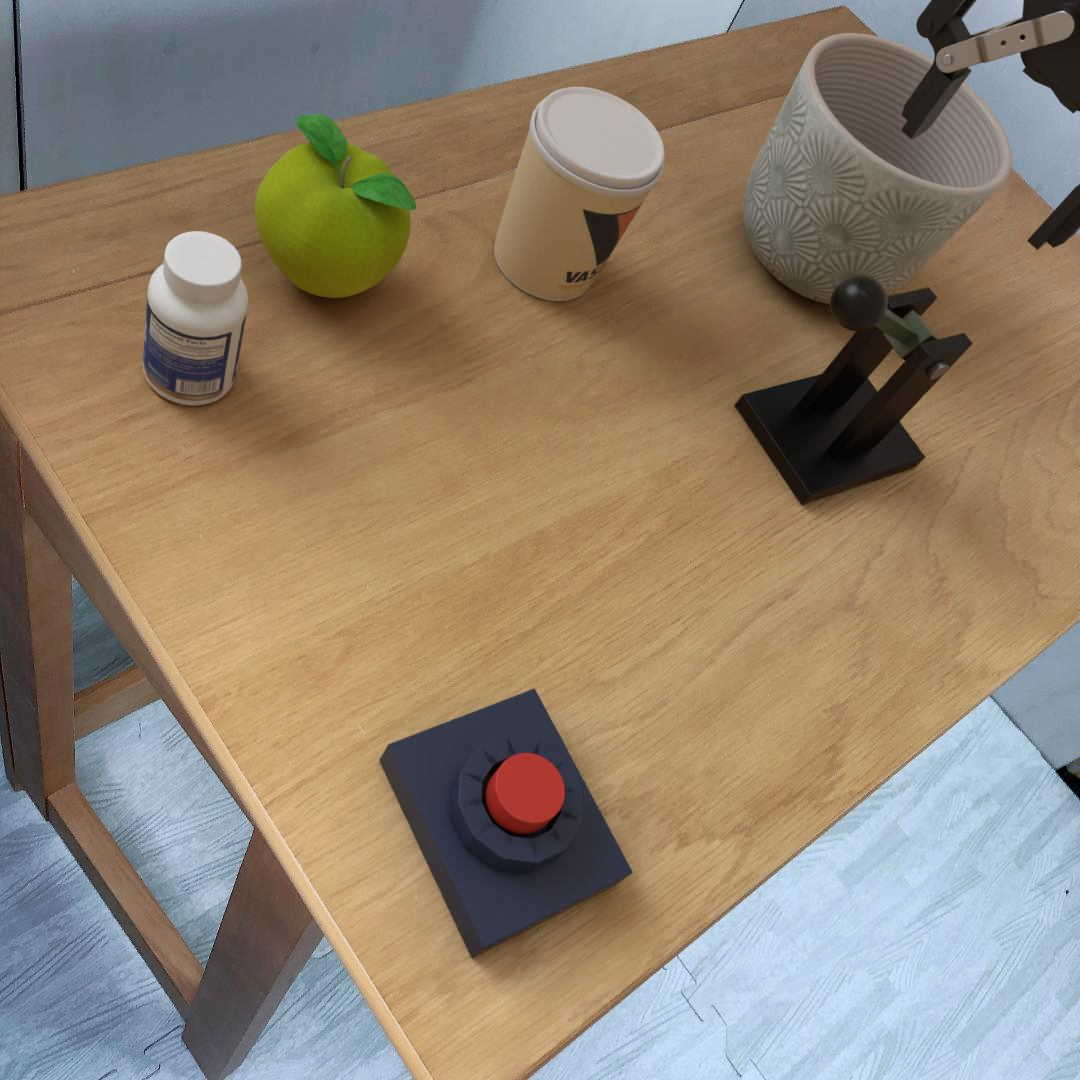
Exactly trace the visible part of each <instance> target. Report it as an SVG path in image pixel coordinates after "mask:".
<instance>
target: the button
mask: <svg viewBox="0 0 1080 1080" xmlns="http://www.w3.org/2000/svg"><path fill="white" fill-rule="evenodd" d="M564 798H565V787H564V783H563V779H562V777H561V775H560V773H559V771H558V770H557V769H556V767H555V766H554V765H553V764H552V763H551V762H549V761H548V760H547V759H545V758H543V757H541V756H539V755H536V754H532V753H520V754H516V755H513V756H511V757H509V758H508V759H507V760H505V761H504V762H503V763H502V765H501V766H500V767H499V768H498V770H497V771H496V772H495V773H494V775H493V776H492V777H491V779H490V780H489V782H488V785H487V788H486V803H487V807H488V810H489V812H490V814H491V816H492V817H493V819H494V820H495V821H496V822H497V823H498V824H499V825H500V826H501V827H503V828H504V829H506V830H508V831H510V832H513V833H517V834H530V833H534V832H537V831H539V830H540V829H542V828H543V827H544V826H545V825H546V824H547V823H548V822H549V821H550V820H551V819H552V818H553V817H554V816H555V815H556V814H557V813H558V812H559V811H560V809H561V807H562V805H563V802H564Z"/></svg>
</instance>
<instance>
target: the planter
mask: <svg viewBox="0 0 1080 1080" xmlns="http://www.w3.org/2000/svg"><path fill="white" fill-rule="evenodd" d="M933 62H934V58H933V59H932V57H929V56H928V55H926V54H924V53H922V52H921V51H918V50H916V49H914V48H912V47H910V46H907V45H905V44H902V43H900V42H898V41H895V40H891V39H888V38H886V37H882V36H877V35H873V34H868V33H867V34H866V33H857V32H846V33H845V32H844V33H837V34H833V35H830V36H826V37H824V38H822V39H821V40H819V41H818V42H816V43H815V44H814V45H813V46H812V48H811V49H810V50H809V51H808V53H807V56H806V58H805V60H804V62H803V64H802V66H801V67H800V70H799V72H798V74H797V76H796V78H795V80H794V81H793V84H792V85H791V88H790V90H789V92H788V93H787V95H786V98H785V99H784V102H783V104H782V106H781V108H780V109H779V111H778V114H777V116H776V117H775V120H774V121H773V124H772V126H771V128H770V130H769V132H768V134H767V135H766V138H765V140H764V141H763V143H762V145H761V147H760V150H759V151H758V154H757V155H756V158H755V159H754V162H753V164H752V166H751V168H750V171H749V174H748V178H747V180H746V184H745V189H744V194H743V202H742V220H743V225H744V229H745V232H746V236H747V239H748V242H749V244H750V246H751V249H752V251H753V253H754V255H755V256H756V257H757V260H759V262H760V263H761V265H762V266H763V267H764V268H765V269H766V270H767V272H768V273H770V274H771V275H772V276H773V277H774V278H775V279H776V280H777V281H778V282H780V283H781V284H782V285H784V286H785V287H787V288H788V289H790V290H791V291H793V292H795V293H796V294H799V295H800V296H802V297H804V298H807V299H810V300H812V301H815V302H818V303H822V304H825V305H830V301H831V297H832V294H833V292H834V290H835V288H836V287H837V286H838V284H839V283H841V282H842V281H843V280H844V279H846V278H848V277H851V276H854V275H867V276H870V277H872V278H874V279H876V280H877V281H879V282H880V283H881V284H882V286H883V287H884V289H885V291H886V294H887V296H889V294H890V295H891V294H892V293H894V292H895V291H896V290H898V289H900V288H901V287H902V286H904V285H905V284H906V283H908V282H909V281H910V280H912V279H913V278H914V277H915V275H917V274H918V273H919V272H920V271H921V270H922V269H923V268H924V267H926V265H927V264H928V263H929V262H930V261H931V259H933V258H934V257H935V256H936V255H937V253H939V251H941V250H942V248H943V247H944V246H945V245H946V244H947V243H948V242H949V241H950V240H951V239H952V238H953V237H954V236H955V235H956V234H957V233H958V232H959V231H960V230H961V229H962V228H963V226H964V225H966V223H968V222H969V221H970V219H971V218H972V217H973V216H975V214H976V213H977V212H978V211H979V210H980V209H981V208H982V207H983V206H984V205H985V204H986V203H987V202H988V201H989V200H990V199H991V198H992V196H994V194H996V193H997V192H998V190H999V189H1000V188H1001V187H1002V186H1004V184H1005V182H1006V181H1007V179H1008V178H1009V176H1010V174H1011V170H1012V164H1013V163H1012V162H1013V157H1012V156H1013V155H1012V150H1011V145H1010V142H1009V139H1008V137H1007V134H1006V132H1005V130H1004V128H1003V126H1002V125H1001V123H1000V121H999V120H998V118H997V117H996V115H995V114H994V112H993V110H991V108H990V107H989V105H987V103H986V102H985V101H984V100H983V99H982V98H981V97H980V95H978V94H977V93H976V91H974V90H973V89H972V87H971V86H969V85H968V84H967V83H966V82H965V81H964V82H963V84H962V85H961V86H960V88H959V89H958V90H957V92H956V93H955V94H954V96H953V97H952V98H951V100H950V101H949V103H948V104H947V105H946V107H945V108H944V109H943V111H942V112H941V113H940V115H939V116H938V117H937V119H936V120H935V122H934V123H933V124H932V125H931V127H930V128H929V129H928V130H927V131H926V132H924V133H923V134H921V135H919V136H917V137H916V138H914V139H912V140H911V139H910V138H909V137H908V136H907V135H906V134H904V133H903V132H902V131H901V130H902V128H903V126H904V125H905V123H906V122H907V120H906V119H905V118H904V117H903V116H902V112H903V108H904V105H905V103H906V102H907V101H908V99H909V98H910V96H911V95H912V93H913V92H914V91H915V89H916V88H917V86H918V85H919V83H920V82H921V81H922V79H923V78H924V76H925V75H926V73H927V72H928V71H929V69H930V68H931V66H932V65H933Z"/></svg>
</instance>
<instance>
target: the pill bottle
mask: <svg viewBox="0 0 1080 1080" xmlns="http://www.w3.org/2000/svg"><path fill="white" fill-rule="evenodd" d="M242 264H243V263H242V258H241V255H240V253H239V250H237V248H235V246H234V245H233V243H231V242H229V240H227V239H225V238H224V237H221V236H220V235H217V234H214V233H211V232H206V231H201V230H199V231H196V230H194V231H187V232H183V233H180V234H178V235H176V236H174V237H173V238H172V239H170V241H169V242H168V243H167V245H166V247H165V250H164V256H163V263H161V265H159V266H158V267H157V268H156V269H155V270H154V271H153V273H152V275H151V277H150V279H149V282H148V286H147V291H146V292H147V293H146V309H145V310H146V312H145V324H144V325H145V326H144V338H143V339H144V340H143V353H142V370H143V374H144V377H145V379H146V381H147V383H148V385H149V386H150V387H151V388H152V389H153V390H154V392H156V393H157V394H158V395H160V396H161V398H164V399H165V400H168V401H170V402H173V403H176V404H179V405H183V406H191V407H195V406H204V405H209V404H212V403H215V402H217V401H219V400H220V399H222V398H223V397H224V396H226V394H228V392H229V391H230V390H231V389H232V387H233V386H234V383H235V380H236V377H237V373H238V367H239V361H240V355H241V348H242V344H243V337H244V333H245V326H246V322H247V321H246V320H247V315H248V310H249V294H248V290H247V287H246V285H245V283H244V281H243V280H242V278H241V274H242Z"/></svg>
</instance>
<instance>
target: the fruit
mask: <svg viewBox="0 0 1080 1080" xmlns="http://www.w3.org/2000/svg"><path fill="white" fill-rule="evenodd" d="M296 126H297V127H298V128H299V130H300V131H301V132H302V134H303V135H304V137H305V138H306V139H307V140H308V142H304V143H301V144H298V145H296V146H295V147H293V148H290V149H289V150H288V151H287V152H286V153H285V154H283V155H282V156H281V157H280V158H279V159H277V161H276V162H275V163H274V164H273V165H272V166H271V167H270V168H269V170H268V171H267V172H266V175H264V177H263V179H262V181H261V183H260V184H259V187H258V189H257V193H256V195H255V201H254V220H255V225H256V230H257V233H258V235H259V238H260V241H261V243H262V245H263V247H264V249H265V251H266V253H267V255H268V256H269V257H270V259H271V260H272V262H273V263H274V265H275V266H276V268H278V270H279V271H280V272H281V273H282V274H283V276H285V277H286V278H287V279H288V280H289V281H290V282H291V283H292V284H293V285H295V286H296V287H297V288H299V289H300V290H302V291H304V292H305V293H308V294H311V295H314V296H318V297H323V298H330V299H341V298H346V297H351V296H354V295H358V294H360V293H362V292H365V291H367V290H369V289H371V288H372V287H374V286H376V285H377V284H378V283H380V282H381V281H383V280H384V279H385V278H386V277H387V276H389V274H390V273H391V272H392V271H393V270H394V268H395V267H396V266H397V264H399V261H400V260H401V259H402V257H403V255H404V253H405V250H406V248H407V245H408V242H409V239H410V235H411V226H412V225H411V211H414V210H416V209H417V202H416V200H415V199H414V197H413V194H411V192H410V190H409V189H408V188H407V186H406V184H405V183H403V181H401V180H400V179H399V178H398V177H397V176H395V174H394V172H392V170H391V169H390V168H389V166H388V165H387V164H386V163H385V161H384V160H383V159H382V158H380V157H378V156H376V155H374V154H373V153H370V152H368V151H366V150H364V149H362V148H360V147H359V146H357V145H355V144H353V143H351V142H348V140H347V138H346V135H345V134H344V133H343V131H342V130H341V129H340V127H339V126H338V125H337V124H336V122H334V120H332V118H330V117H329V116H328V115H327V114H322V113H311V114H309V113H308V114H301V115H300V116H299V117H298V118H297V119H296Z"/></svg>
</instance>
